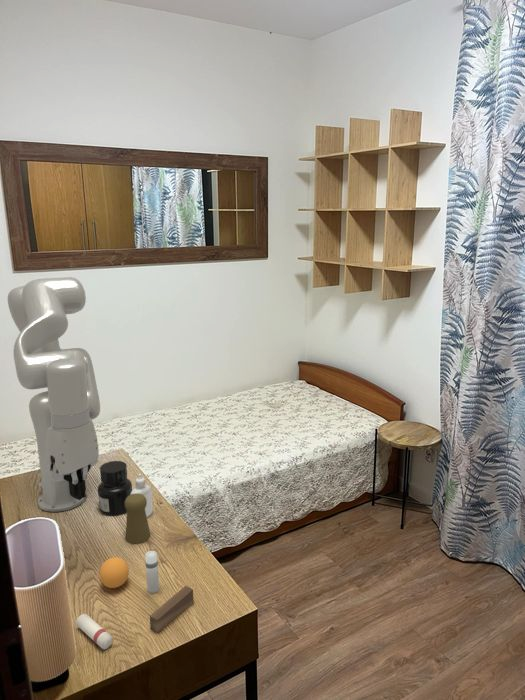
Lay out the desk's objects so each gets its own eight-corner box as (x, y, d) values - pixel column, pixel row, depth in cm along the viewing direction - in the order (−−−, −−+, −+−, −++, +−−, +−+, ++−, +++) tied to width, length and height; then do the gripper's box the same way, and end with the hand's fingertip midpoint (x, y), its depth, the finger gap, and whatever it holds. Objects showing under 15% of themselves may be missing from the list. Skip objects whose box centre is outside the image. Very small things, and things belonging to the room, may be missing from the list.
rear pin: (144, 590, 110) (142, 555, 107) (153, 583, 112) (151, 548, 109) (153, 595, 108) (150, 559, 106) (161, 588, 110) (159, 553, 108)
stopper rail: (150, 628, 99) (149, 615, 99) (186, 597, 107) (185, 585, 107) (157, 633, 98) (157, 620, 98) (193, 601, 106) (193, 589, 106)
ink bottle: (100, 499, 144) (97, 460, 141) (133, 495, 146) (130, 456, 143) (98, 519, 135) (94, 477, 132) (133, 514, 137) (130, 473, 134)
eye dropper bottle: (154, 518, 136) (152, 476, 133) (132, 522, 134) (129, 480, 131) (151, 509, 140) (149, 468, 137) (130, 513, 138) (127, 472, 135)
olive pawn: (144, 545, 124) (141, 504, 122) (120, 542, 126) (117, 501, 123) (154, 531, 130) (152, 491, 127) (131, 528, 131) (129, 488, 129)
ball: (115, 594, 106) (101, 593, 110) (138, 576, 111) (123, 576, 115) (103, 568, 106) (89, 568, 110) (127, 551, 111) (112, 551, 115)
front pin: (89, 618, 101) (115, 640, 96) (79, 629, 100) (104, 652, 95) (84, 610, 100) (109, 632, 95) (73, 621, 99) (98, 644, 93)
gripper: (88, 403, 117) (95, 478, 121) (26, 425, 105) (36, 507, 109) (111, 410, 113) (117, 487, 117) (49, 434, 101) (58, 518, 105)
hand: (78, 496), depth 113 cm, fingers closed
